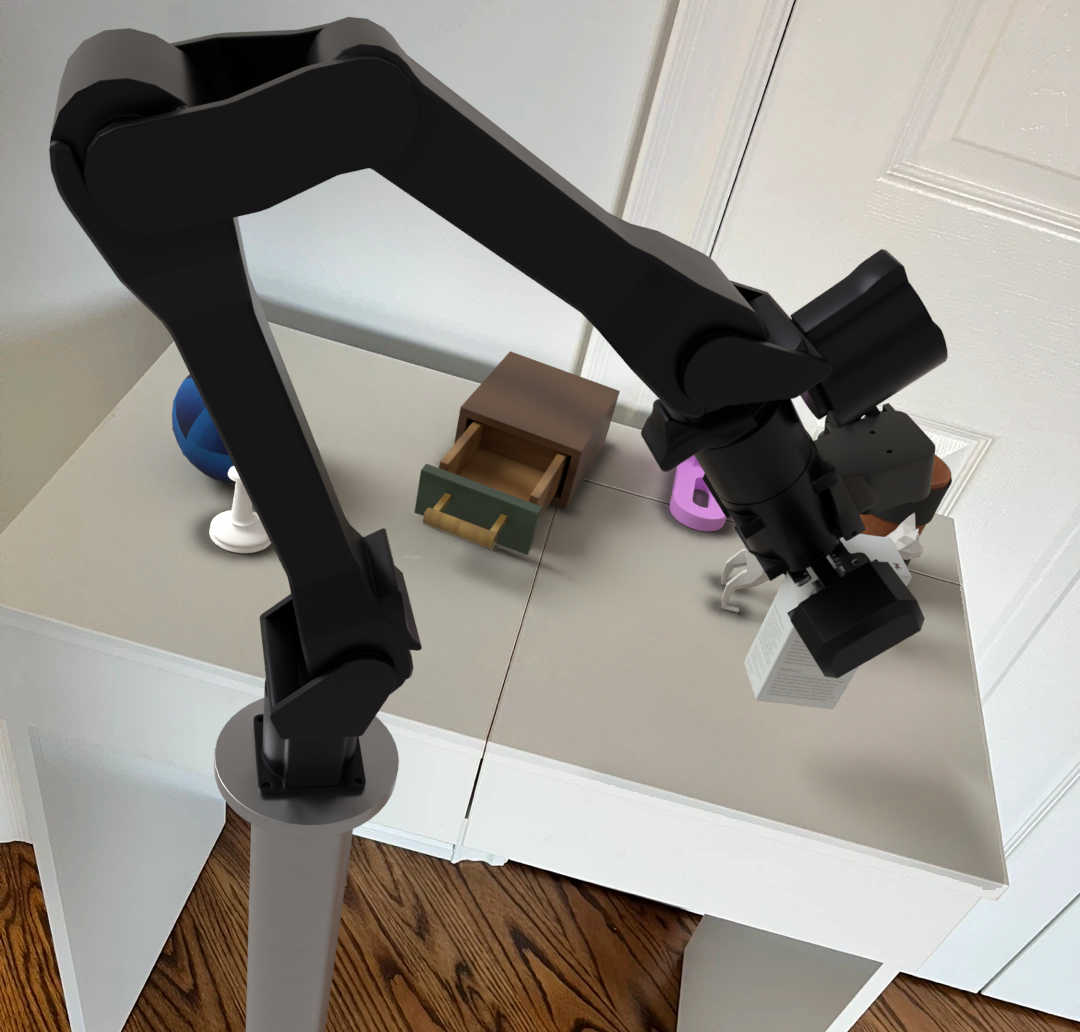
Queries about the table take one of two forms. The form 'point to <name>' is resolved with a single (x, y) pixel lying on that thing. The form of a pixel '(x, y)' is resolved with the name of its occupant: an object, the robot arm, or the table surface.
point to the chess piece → (239, 523)
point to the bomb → (199, 433)
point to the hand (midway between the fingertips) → (842, 615)
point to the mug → (911, 507)
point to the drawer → (491, 488)
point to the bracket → (682, 499)
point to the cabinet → (545, 413)
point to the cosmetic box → (782, 655)
